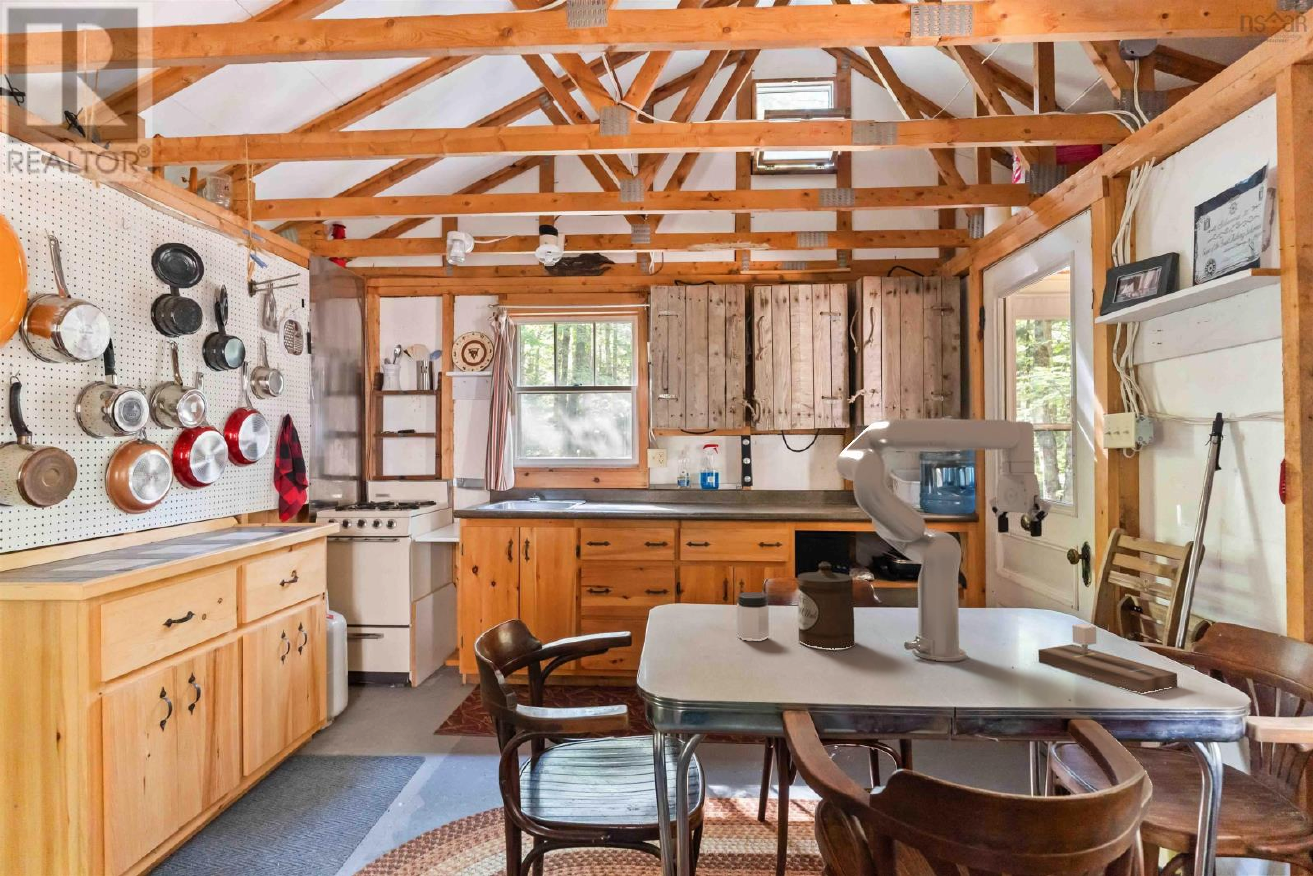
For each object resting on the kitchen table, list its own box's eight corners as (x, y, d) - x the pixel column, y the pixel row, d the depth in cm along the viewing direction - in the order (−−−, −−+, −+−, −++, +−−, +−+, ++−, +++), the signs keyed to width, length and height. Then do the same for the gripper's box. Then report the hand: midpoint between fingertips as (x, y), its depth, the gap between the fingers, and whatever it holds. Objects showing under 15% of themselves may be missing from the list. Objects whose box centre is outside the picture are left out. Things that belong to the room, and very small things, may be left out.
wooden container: (794, 635, 187) (793, 558, 187) (846, 635, 186) (845, 558, 187) (804, 651, 172) (803, 566, 173) (861, 651, 172) (860, 566, 172)
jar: (772, 641, 181) (772, 597, 181) (744, 643, 179) (744, 599, 180) (760, 632, 190) (760, 591, 190) (733, 634, 188) (733, 592, 188)
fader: (1085, 656, 155) (1084, 628, 155) (1073, 653, 158) (1072, 625, 158) (1096, 654, 156) (1096, 626, 157) (1084, 651, 159) (1083, 623, 159)
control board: (1141, 694, 139) (1141, 680, 139) (1038, 662, 162) (1038, 649, 162) (1177, 687, 144) (1177, 673, 144) (1072, 656, 166) (1072, 644, 166)
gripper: (980, 468, 178) (981, 531, 178) (1037, 469, 162) (1039, 539, 162) (1000, 468, 181) (1001, 530, 181) (1059, 469, 165) (1060, 537, 165)
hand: (1019, 534), depth 171 cm, fingers open, 9 cm apart
